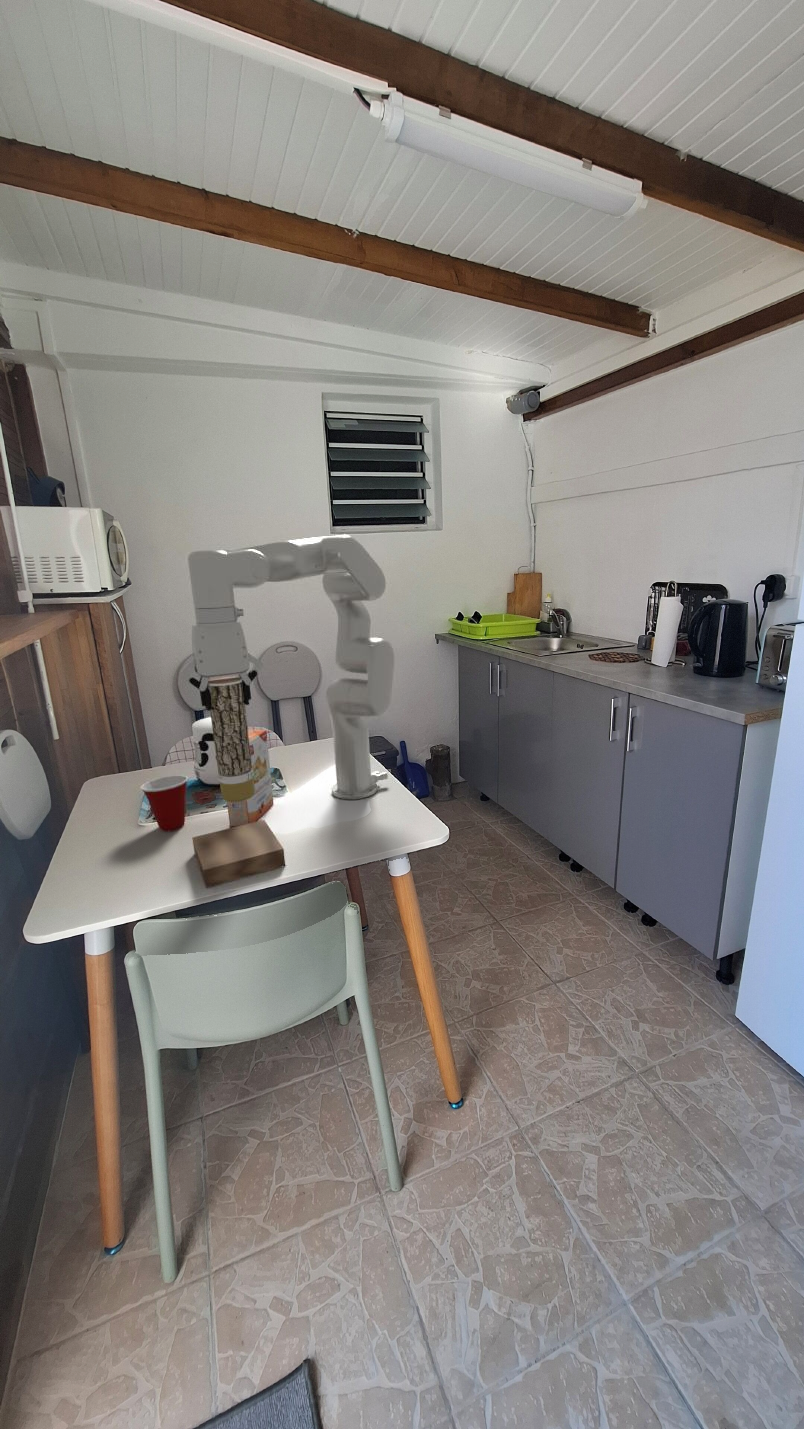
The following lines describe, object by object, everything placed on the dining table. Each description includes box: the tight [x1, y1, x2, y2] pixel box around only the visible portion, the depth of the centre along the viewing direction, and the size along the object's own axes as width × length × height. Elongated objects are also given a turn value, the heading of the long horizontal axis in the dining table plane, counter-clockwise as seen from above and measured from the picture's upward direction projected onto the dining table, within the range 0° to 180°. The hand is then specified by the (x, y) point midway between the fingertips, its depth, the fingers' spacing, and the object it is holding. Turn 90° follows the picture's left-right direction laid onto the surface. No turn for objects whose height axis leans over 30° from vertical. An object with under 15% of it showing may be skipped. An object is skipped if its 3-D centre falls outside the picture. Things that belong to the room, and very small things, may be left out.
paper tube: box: [207, 676, 255, 802], centre depth 114 cm, size 7×7×25 cm
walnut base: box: [191, 819, 286, 889], centre depth 120 cm, size 16×16×4 cm
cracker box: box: [226, 729, 274, 827], centre depth 139 cm, size 14×6×21 cm, turn 168°
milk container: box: [191, 716, 249, 787], centre depth 165 cm, size 17×17×18 cm
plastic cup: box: [139, 774, 189, 832], centre depth 136 cm, size 11×11×12 cm
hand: (227, 705), depth 112 cm, fingers closed on paper tube, 6 cm apart
